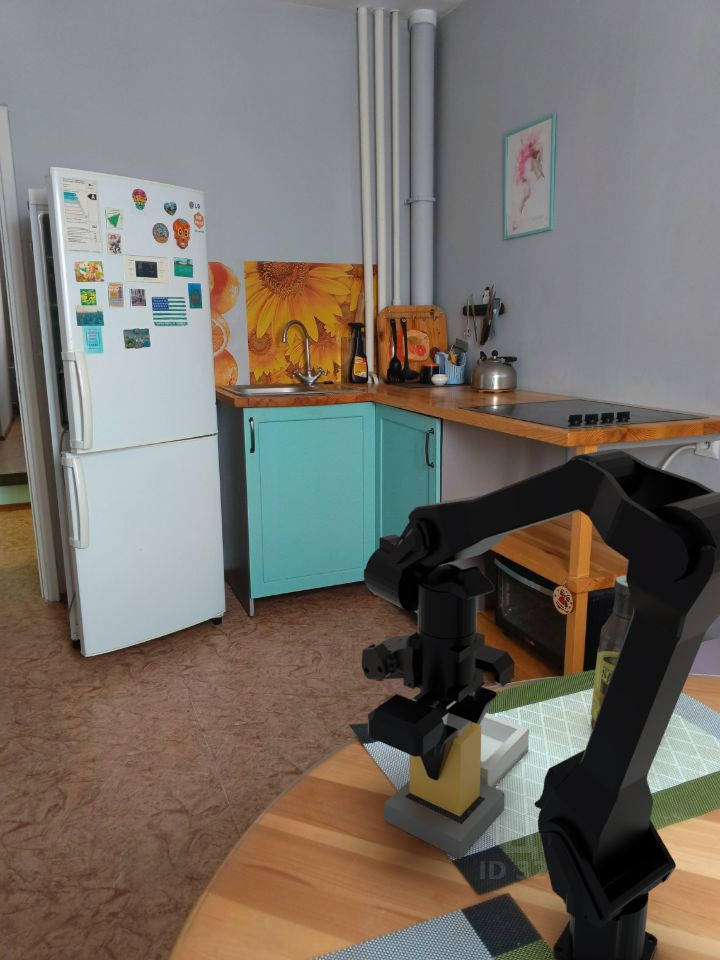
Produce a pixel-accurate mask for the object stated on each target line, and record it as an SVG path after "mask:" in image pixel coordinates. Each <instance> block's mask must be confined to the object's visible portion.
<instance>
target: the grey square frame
mask: <svg viewBox="0 0 720 960" xmlns="http://www.w3.org/2000/svg"><path fill="white" fill-rule="evenodd" d="M505 796H506V795H505V791H502V790H500V789H498V788H496V787H494V788H493V787H491V786H489V785H487V784H484V783H482V782H480V796H479V797H478V798H477V799H476V800H475V801H474V802H473V803H472V804H471V805H470V806H469V807H468V808H467V809H470V810H472V811H473V812H472V813H470V814H469V816H468V817H467V818H466V819H465V820H464V821H463V822H462V824H461V823H460V822H457V821H455V820H454V819H451V818H449V817H447V816H445V815H443V814H441V813H439V812H438V811H437V812H436V811H435V810H432V809H430V808H429V807H427V806H424V805H422V804H420V803H418V802H419V801H420V800H421V799H422V798H420V797H418V796H416V795H414V794H411V793H410V780H408V781H407V782H406V783H405V784H404V785H403V786H402V787H400V789H398V790H397V791H396V792H395V793H394V794H393V795H392V796H390V797H389V798H388V799H387V800H386V801H385V802H384V803H383V820H384V821H385V822H387V823H388V824H390V825H393V826H395V827H397V828H399V829H400V830H403V831H404V832H406V833H408V834H409V835H412V836H414V837H416V838H418V839H420V840H422V842H423V841H424V842H425V843H427V844H429V845H431V846H433V847H435V848H437V849H439V850H441V851H442V852H445V853H447V854H448V855H449V856H453V857H454V858H455V859H458V860H461V859H462V858H463V857H464V856H465V854H466V853H467V852H468V851H469V850H470V849H471V848H472V846H474V844H475V843H476V842H477V841H478V840H479V838H480V837H481V836H482V835H483V834H484V833H485V831H487V829H488V828H489V827H490V826H491V825H492V824H493V823H494V821H495V820H496V819H497V818H498V817H499V815H500V814H501V813H502V812H503V811H504V810H505ZM470 847H471V848H470ZM469 848H470V849H469ZM467 850H468V851H467Z"/></svg>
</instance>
